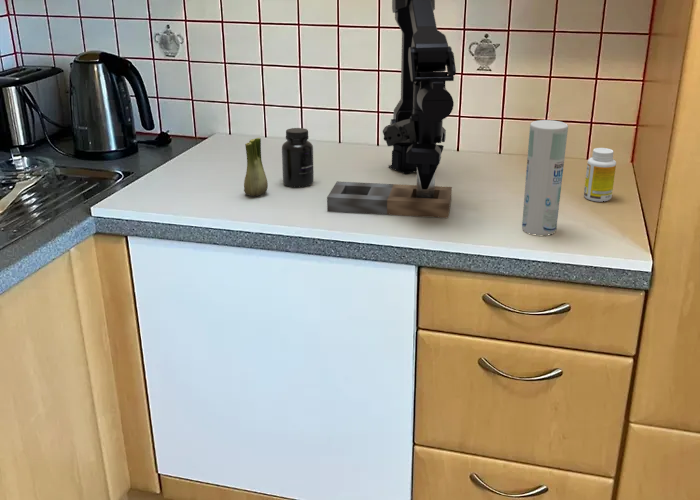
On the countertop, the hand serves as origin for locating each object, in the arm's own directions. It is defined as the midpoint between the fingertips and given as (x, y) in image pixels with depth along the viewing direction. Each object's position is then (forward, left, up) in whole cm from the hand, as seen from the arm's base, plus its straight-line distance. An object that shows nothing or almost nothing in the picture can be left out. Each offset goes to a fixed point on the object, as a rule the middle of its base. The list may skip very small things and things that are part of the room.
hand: (425, 185), depth 150 cm
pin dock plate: (+5, -5, -5) cm, 8 cm away
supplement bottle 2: (-33, +17, -5) cm, 37 cm away
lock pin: (0, 0, -4) cm, 4 cm away
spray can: (-10, +22, -5) cm, 24 cm away
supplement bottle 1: (+12, -28, -5) cm, 31 cm away
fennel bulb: (+23, -27, -5) cm, 36 cm away
